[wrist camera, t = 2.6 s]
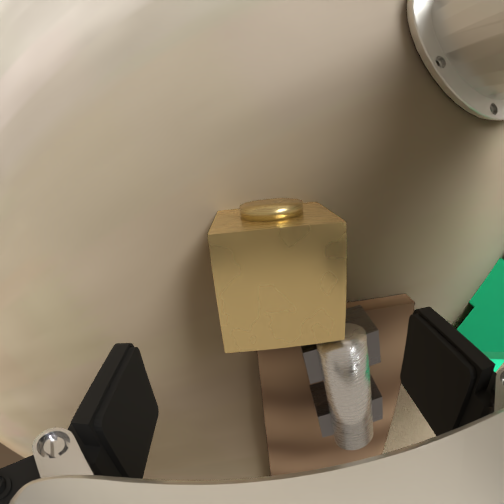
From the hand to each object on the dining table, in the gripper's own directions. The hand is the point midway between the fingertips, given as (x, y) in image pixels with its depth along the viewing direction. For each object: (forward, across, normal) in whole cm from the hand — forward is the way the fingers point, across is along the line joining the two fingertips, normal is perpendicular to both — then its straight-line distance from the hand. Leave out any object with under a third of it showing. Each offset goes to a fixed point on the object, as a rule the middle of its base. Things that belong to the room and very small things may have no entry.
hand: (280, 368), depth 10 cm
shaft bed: (+11, -5, +16) cm, 20 cm away
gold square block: (+11, -1, -1) cm, 11 cm away
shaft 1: (+9, -5, +7) cm, 13 cm away
